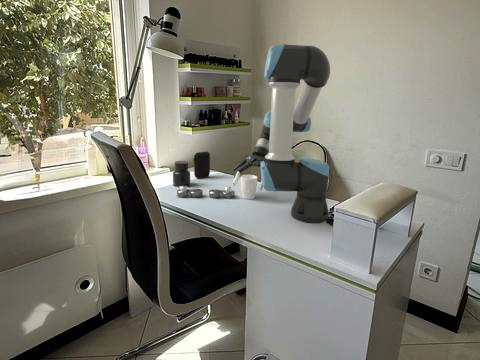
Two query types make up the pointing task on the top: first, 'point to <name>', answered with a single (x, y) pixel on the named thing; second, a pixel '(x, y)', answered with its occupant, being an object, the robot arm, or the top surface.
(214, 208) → the top surface
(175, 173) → the ink bottle
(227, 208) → the top surface
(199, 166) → the black rounded slab
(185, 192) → the chain end left
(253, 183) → the white cup
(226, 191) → the chain end right
